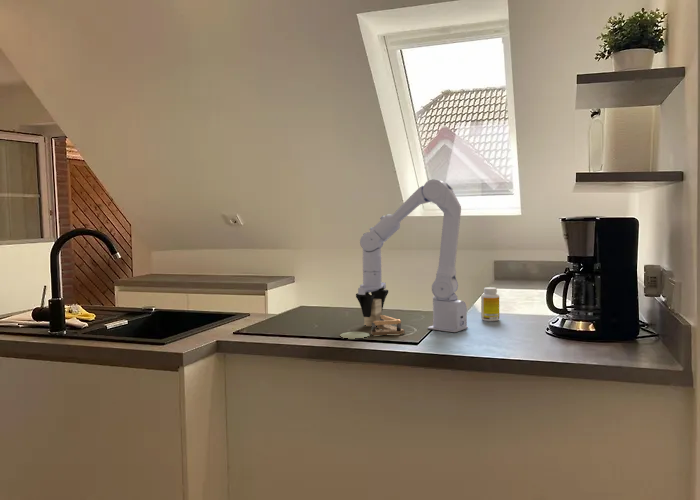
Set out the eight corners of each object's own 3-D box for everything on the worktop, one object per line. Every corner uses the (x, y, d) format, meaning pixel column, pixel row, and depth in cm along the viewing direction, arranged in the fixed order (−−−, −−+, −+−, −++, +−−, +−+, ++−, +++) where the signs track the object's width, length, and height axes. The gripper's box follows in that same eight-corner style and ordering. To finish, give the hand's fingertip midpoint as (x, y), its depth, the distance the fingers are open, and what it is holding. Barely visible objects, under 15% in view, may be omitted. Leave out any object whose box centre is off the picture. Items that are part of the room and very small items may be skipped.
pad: (375, 335, 167) (375, 334, 167) (356, 340, 161) (356, 339, 160) (352, 331, 172) (352, 330, 172) (333, 336, 166) (333, 335, 166)
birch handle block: (381, 324, 182) (381, 299, 181) (375, 326, 178) (375, 301, 178) (370, 323, 184) (370, 298, 183) (364, 325, 180) (363, 300, 180)
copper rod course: (413, 331, 171) (413, 317, 170) (389, 339, 162) (389, 324, 161) (382, 326, 178) (381, 313, 178) (357, 333, 169) (356, 319, 169)
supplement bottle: (502, 321, 183) (502, 288, 182) (486, 322, 182) (486, 289, 181) (494, 317, 188) (494, 286, 187) (478, 319, 187) (478, 287, 186)
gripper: (371, 268, 188) (372, 309, 189) (349, 273, 176) (349, 317, 177) (391, 269, 185) (391, 311, 186) (369, 274, 172) (370, 319, 173)
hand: (372, 314), depth 181 cm, fingers open, 7 cm apart
